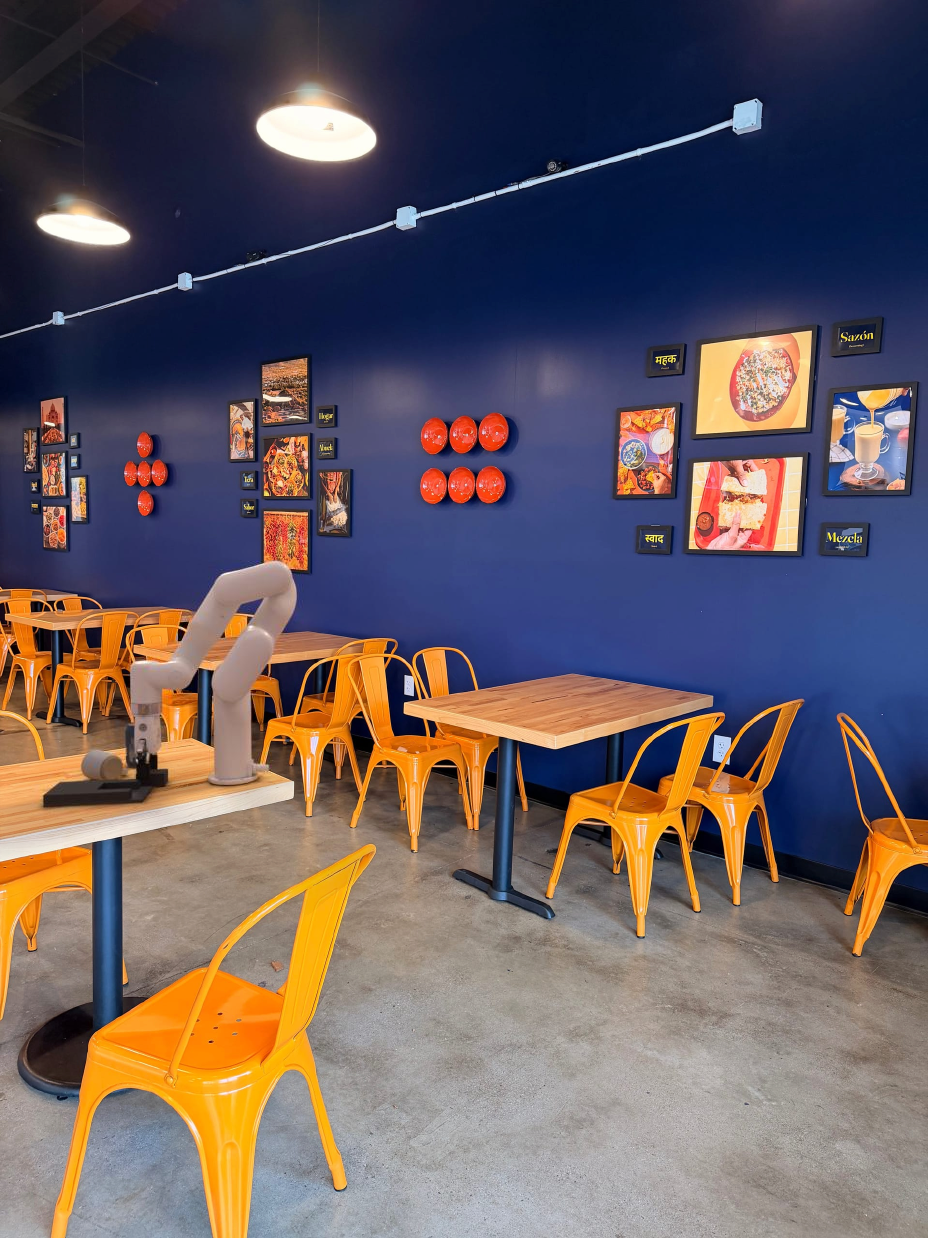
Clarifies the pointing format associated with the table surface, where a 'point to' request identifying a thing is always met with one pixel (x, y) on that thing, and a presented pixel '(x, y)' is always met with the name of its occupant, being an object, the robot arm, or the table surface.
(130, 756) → the soda can
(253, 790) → the table surface
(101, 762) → the ceramic mug
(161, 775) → the loose pad
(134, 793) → the pad base
